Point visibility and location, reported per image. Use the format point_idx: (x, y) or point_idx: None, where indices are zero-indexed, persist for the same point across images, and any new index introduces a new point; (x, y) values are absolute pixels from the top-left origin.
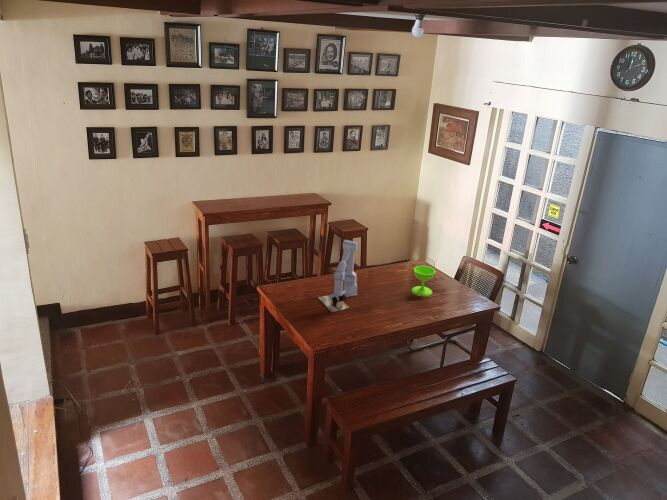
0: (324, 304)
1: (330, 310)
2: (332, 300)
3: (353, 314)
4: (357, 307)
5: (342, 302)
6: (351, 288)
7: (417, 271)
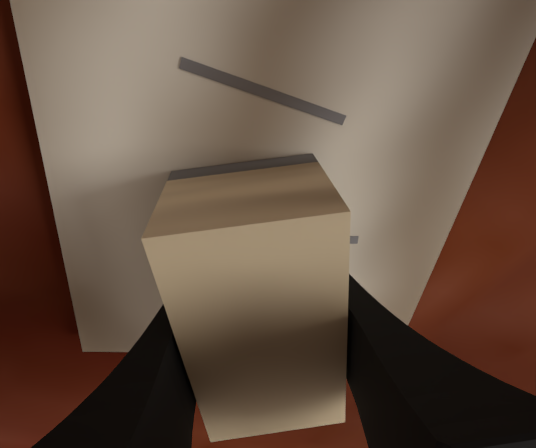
0: (33, 60)
1: (80, 325)
2: (104, 392)
3: (333, 432)
4: (498, 345)
5: (327, 421)
6: None
7: None
